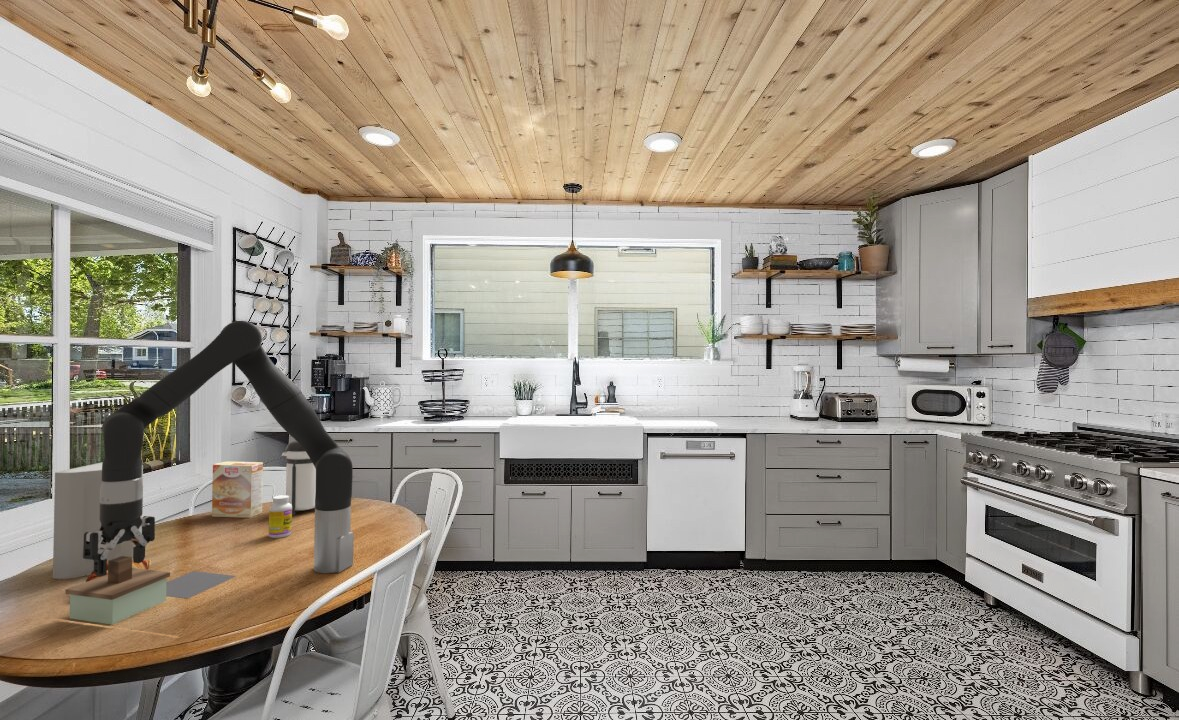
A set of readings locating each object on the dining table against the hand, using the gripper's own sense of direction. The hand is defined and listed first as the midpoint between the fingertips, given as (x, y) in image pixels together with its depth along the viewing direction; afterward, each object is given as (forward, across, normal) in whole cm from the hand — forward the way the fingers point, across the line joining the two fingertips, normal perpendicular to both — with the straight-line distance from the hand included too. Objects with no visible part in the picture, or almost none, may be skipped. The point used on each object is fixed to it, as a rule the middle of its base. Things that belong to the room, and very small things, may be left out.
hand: (120, 568), depth 123 cm
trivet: (+10, +15, -3) cm, 18 cm away
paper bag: (+10, +21, +31) cm, 39 cm away
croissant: (+10, +12, +16) cm, 22 cm away
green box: (+10, 0, 0) cm, 10 cm away
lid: (+4, 0, 0) cm, 4 cm away
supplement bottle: (+10, +54, +5) cm, 55 cm away
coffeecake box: (+10, +70, +38) cm, 80 cm away
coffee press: (+10, +82, +18) cm, 85 cm away
